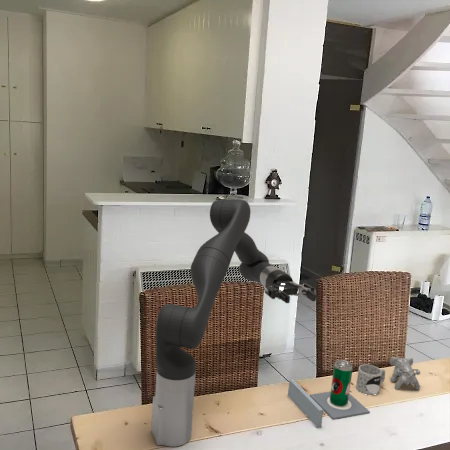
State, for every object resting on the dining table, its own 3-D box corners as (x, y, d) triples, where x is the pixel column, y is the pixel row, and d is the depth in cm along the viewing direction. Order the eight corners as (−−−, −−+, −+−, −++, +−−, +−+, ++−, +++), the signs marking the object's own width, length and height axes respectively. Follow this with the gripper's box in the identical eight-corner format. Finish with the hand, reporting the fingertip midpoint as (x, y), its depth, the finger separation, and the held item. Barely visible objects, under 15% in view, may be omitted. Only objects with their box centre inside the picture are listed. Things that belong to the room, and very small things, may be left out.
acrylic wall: (317, 427, 130) (319, 410, 129) (287, 395, 145) (289, 379, 144) (321, 427, 131) (323, 409, 130) (291, 394, 145) (293, 379, 144)
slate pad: (332, 419, 134) (333, 417, 134) (309, 396, 145) (309, 394, 145) (369, 413, 139) (369, 411, 139) (344, 390, 150) (344, 388, 150)
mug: (367, 397, 147) (370, 377, 145) (351, 386, 152) (354, 366, 151) (391, 390, 152) (394, 370, 150) (374, 380, 157) (377, 360, 156)
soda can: (348, 408, 139) (353, 369, 137) (329, 405, 140) (334, 366, 137) (347, 399, 144) (352, 360, 141) (329, 396, 145) (334, 357, 142)
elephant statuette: (400, 394, 151) (405, 372, 149) (375, 373, 161) (379, 352, 159) (424, 391, 154) (429, 368, 152) (398, 370, 165) (402, 349, 163)
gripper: (256, 270, 154) (281, 288, 139) (297, 268, 159) (324, 285, 145) (254, 293, 156) (278, 313, 141) (294, 290, 161) (321, 309, 146)
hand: (301, 299), depth 143 cm, fingers open, 8 cm apart
